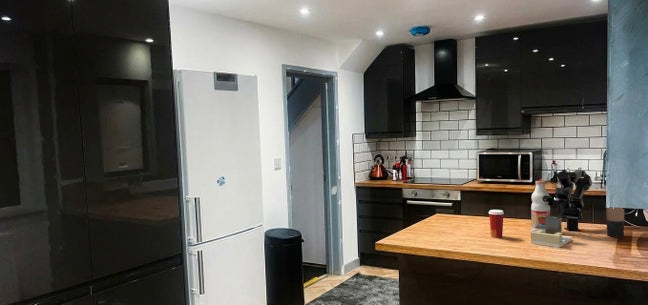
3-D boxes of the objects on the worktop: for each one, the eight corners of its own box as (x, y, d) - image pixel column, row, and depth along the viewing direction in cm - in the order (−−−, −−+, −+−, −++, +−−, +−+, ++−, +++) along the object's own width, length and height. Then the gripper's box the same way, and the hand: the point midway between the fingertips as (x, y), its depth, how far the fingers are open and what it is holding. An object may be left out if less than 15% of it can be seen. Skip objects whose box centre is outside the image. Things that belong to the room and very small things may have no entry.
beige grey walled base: (545, 236, 231) (544, 225, 231) (572, 239, 222) (571, 229, 222) (530, 243, 218) (530, 232, 218) (559, 247, 209) (559, 236, 208)
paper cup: (504, 235, 236) (504, 209, 235) (504, 238, 229) (503, 212, 228) (489, 234, 239) (488, 209, 238) (488, 237, 232) (487, 211, 231)
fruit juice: (539, 228, 248) (539, 179, 247) (554, 232, 239) (553, 181, 238) (527, 230, 244) (527, 181, 243) (541, 234, 236) (541, 182, 235)
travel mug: (627, 238, 221) (627, 199, 220) (610, 238, 223) (610, 199, 222) (620, 234, 229) (620, 196, 228) (604, 234, 230) (603, 197, 229)
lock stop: (549, 235, 226) (548, 216, 225) (561, 236, 221) (561, 217, 221) (545, 237, 222) (545, 217, 222) (558, 238, 218) (558, 219, 217)
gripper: (543, 180, 237) (536, 203, 230) (581, 182, 224) (575, 207, 216) (548, 193, 243) (541, 216, 236) (586, 195, 229) (580, 220, 222)
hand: (559, 214), depth 227 cm, fingers closed
